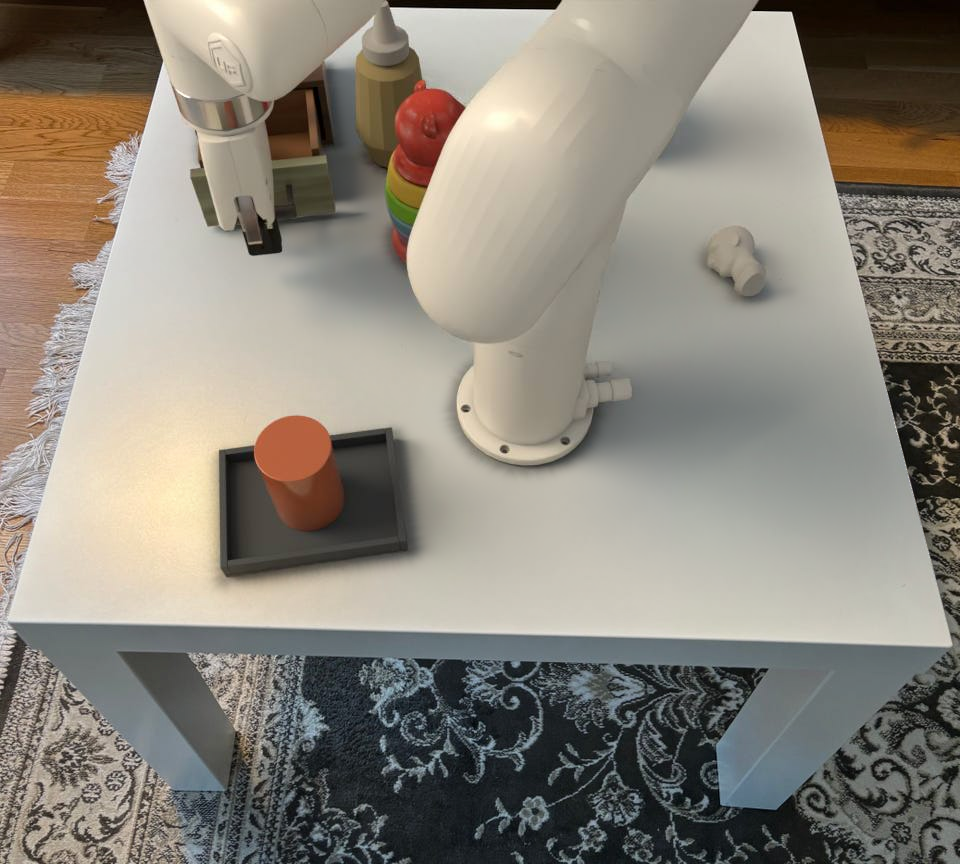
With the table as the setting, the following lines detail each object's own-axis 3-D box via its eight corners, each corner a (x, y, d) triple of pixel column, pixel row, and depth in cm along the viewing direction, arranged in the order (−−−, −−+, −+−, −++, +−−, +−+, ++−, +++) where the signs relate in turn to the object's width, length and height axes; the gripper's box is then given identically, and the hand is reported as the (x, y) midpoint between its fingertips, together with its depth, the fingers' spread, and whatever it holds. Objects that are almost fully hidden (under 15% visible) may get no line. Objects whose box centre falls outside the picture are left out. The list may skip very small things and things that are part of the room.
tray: (393, 438, 81) (391, 426, 79) (408, 550, 75) (406, 541, 73) (223, 460, 79) (218, 449, 78) (225, 577, 74) (220, 567, 72)
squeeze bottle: (444, 158, 100) (440, 10, 84) (383, 187, 97) (367, 39, 82) (406, 118, 103) (396, -31, 88) (346, 145, 101) (324, -5, 85)
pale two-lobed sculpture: (700, 253, 94) (748, 239, 93) (720, 311, 90) (771, 296, 89) (696, 226, 91) (747, 210, 90) (717, 284, 86) (770, 269, 85)
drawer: (339, 242, 92) (330, 192, 86) (207, 256, 91) (189, 208, 85) (327, 133, 100) (318, 82, 94) (207, 145, 99) (190, 94, 93)
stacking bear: (491, 276, 91) (495, 136, 76) (392, 282, 90) (376, 142, 75) (482, 200, 96) (484, 56, 81) (388, 205, 96) (373, 61, 81)
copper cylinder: (342, 465, 79) (329, 410, 71) (347, 526, 75) (333, 476, 68) (274, 473, 78) (253, 419, 70) (276, 535, 75) (254, 486, 67)
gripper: (175, 35, 74) (225, 197, 90) (174, 159, 67) (228, 312, 82) (266, 27, 75) (299, 190, 91) (275, 149, 67) (310, 303, 83)
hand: (265, 248), depth 86 cm, fingers closed
